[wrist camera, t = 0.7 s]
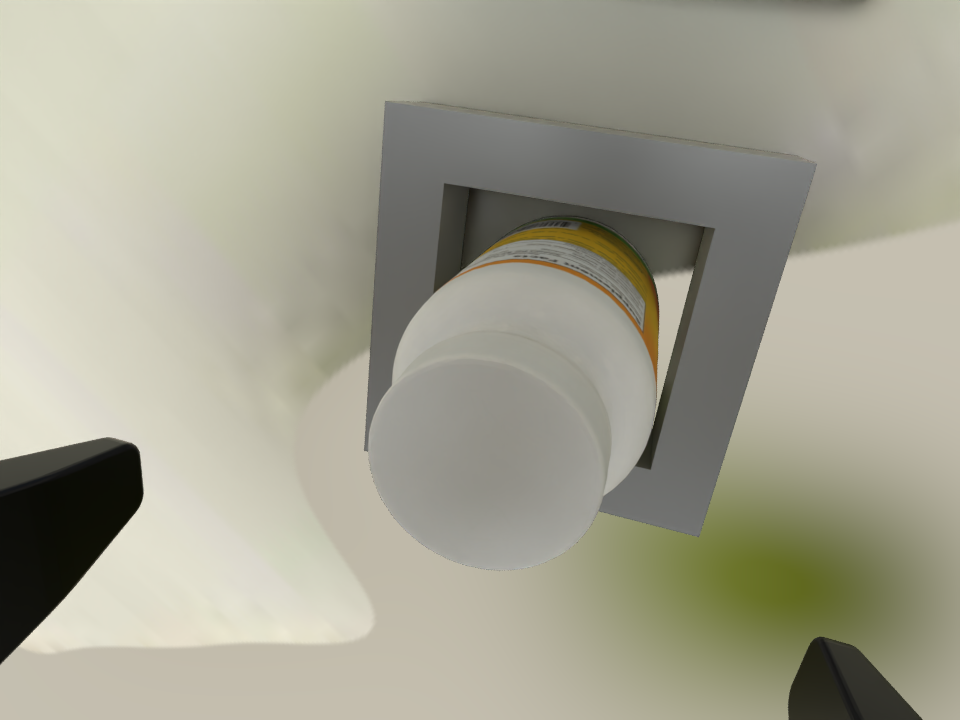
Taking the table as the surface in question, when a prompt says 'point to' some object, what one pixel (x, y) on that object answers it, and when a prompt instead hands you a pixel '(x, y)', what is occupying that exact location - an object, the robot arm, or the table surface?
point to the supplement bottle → (520, 396)
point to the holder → (614, 187)
